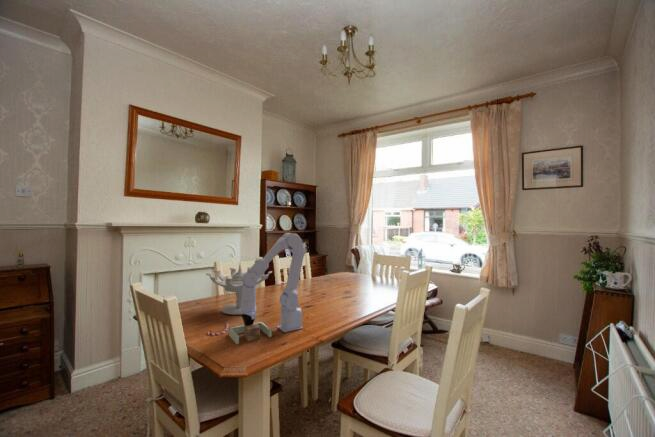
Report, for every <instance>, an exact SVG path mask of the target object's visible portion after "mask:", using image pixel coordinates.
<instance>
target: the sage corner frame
mask: <svg viewBox="0 0 655 437" xmlns="http://www.w3.org/2000/svg"><path fill="white" fill-rule="evenodd" d="M253 324H257V325H258V326H259V327H260V331H261V332H263V333H264V334H265V335H266V336H268V338H272V335H273V334H272V329H271V328H270V327H269V326H268V325H266V324H265V323H264V322H263V321H259V322H254V323H253ZM244 333H245V325H244V324H243V325H237V326H232V327H228V336H229V337H230V339H231V340H232V341H233V342H234V344H235V345H239V344H240V334H244Z"/></svg>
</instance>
